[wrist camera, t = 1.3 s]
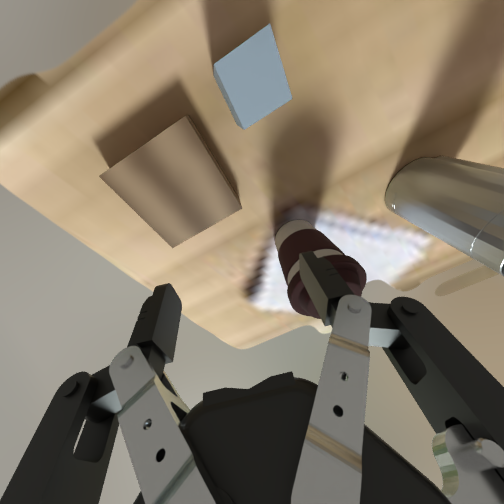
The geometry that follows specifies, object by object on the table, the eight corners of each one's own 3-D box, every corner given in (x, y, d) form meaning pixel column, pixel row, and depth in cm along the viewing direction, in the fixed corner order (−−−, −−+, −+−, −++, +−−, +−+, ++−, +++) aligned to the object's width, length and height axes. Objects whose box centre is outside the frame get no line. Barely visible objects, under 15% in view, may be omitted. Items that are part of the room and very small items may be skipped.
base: (188, 115, 23) (185, 115, 20) (239, 200, 30) (242, 208, 27) (110, 169, 25) (98, 176, 22) (175, 237, 32) (172, 248, 29)
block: (254, 46, 20) (269, 23, 15) (273, 100, 23) (292, 98, 18) (213, 76, 21) (213, 64, 15) (237, 124, 24) (244, 129, 18)
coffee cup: (292, 200, 31) (342, 258, 19) (331, 228, 35) (391, 289, 23) (256, 245, 35) (278, 316, 23) (294, 265, 39) (330, 333, 27)
